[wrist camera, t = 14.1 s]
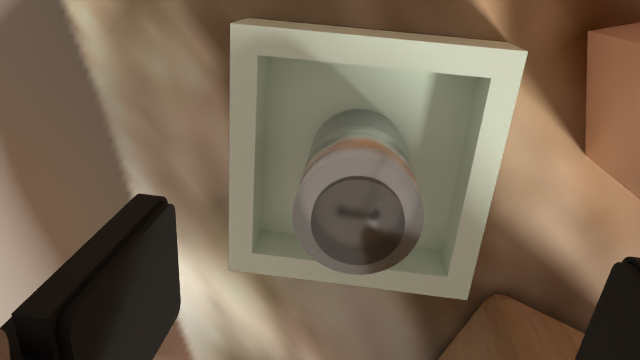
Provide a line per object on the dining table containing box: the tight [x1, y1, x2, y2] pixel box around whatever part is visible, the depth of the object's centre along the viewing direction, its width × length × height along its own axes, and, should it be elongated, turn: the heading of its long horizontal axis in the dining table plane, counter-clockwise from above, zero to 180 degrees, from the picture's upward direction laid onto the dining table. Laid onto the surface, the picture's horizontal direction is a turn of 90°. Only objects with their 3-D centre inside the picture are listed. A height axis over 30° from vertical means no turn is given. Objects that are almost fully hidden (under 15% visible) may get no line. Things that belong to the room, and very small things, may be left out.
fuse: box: [292, 109, 424, 275], centre depth 17 cm, size 4×4×6 cm
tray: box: [228, 18, 528, 300], centre depth 20 cm, size 10×10×3 cm
